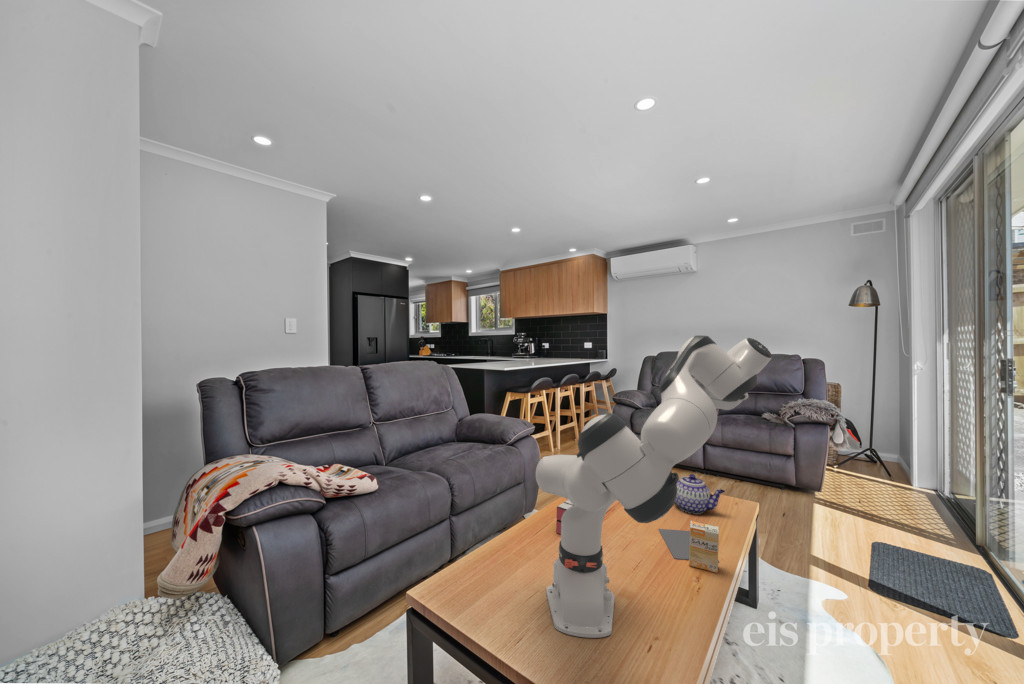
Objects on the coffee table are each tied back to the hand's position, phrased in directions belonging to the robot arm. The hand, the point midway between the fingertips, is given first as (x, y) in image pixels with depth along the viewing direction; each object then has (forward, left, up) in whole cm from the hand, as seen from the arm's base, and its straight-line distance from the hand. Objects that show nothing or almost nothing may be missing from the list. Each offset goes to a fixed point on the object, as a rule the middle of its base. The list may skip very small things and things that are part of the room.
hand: (689, 408), depth 116 cm
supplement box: (+6, -7, -51) cm, 52 cm away
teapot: (+50, -18, -51) cm, 74 cm away
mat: (+19, -6, -51) cm, 55 cm away
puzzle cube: (+22, +33, -51) cm, 65 cm away
